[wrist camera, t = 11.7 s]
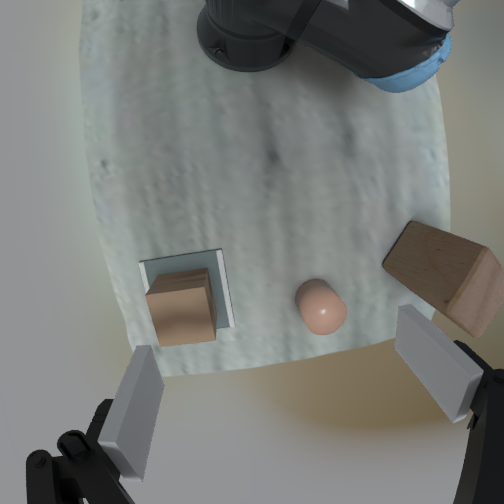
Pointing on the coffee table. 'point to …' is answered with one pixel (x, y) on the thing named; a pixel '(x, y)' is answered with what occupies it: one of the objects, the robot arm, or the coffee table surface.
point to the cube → (183, 307)
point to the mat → (193, 262)
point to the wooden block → (449, 275)
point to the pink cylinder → (320, 307)
